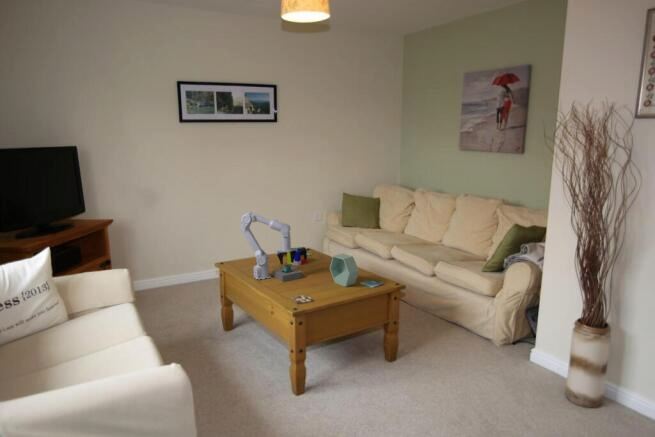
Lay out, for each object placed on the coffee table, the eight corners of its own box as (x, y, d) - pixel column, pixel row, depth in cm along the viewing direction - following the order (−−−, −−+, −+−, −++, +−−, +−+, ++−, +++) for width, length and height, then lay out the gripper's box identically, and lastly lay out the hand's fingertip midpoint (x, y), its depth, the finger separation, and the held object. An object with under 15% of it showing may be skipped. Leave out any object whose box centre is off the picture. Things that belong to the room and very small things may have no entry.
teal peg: (286, 277, 304) (285, 266, 302) (283, 275, 307) (283, 265, 305) (291, 276, 305) (290, 265, 304) (288, 274, 308) (288, 264, 307)
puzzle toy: (298, 266, 331) (297, 252, 330) (287, 264, 337) (286, 250, 336) (307, 262, 339) (306, 249, 337) (296, 260, 345) (296, 247, 343)
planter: (338, 291, 291) (326, 260, 297) (347, 288, 296) (335, 258, 302) (352, 282, 279) (340, 250, 284) (362, 279, 283) (349, 248, 289)
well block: (282, 281, 297) (282, 275, 296) (273, 276, 309) (272, 270, 308) (302, 277, 304) (301, 271, 304) (291, 272, 316) (291, 267, 315)
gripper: (278, 245, 295) (279, 266, 298) (299, 242, 303) (299, 262, 305) (273, 243, 301) (274, 264, 303) (293, 240, 309) (294, 260, 311)
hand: (286, 263), depth 305 cm, fingers open, 7 cm apart
